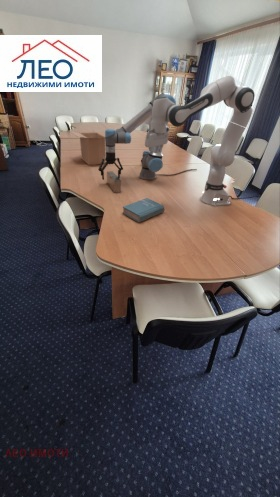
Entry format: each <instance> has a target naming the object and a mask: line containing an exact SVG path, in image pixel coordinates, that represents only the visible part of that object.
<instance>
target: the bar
mask: <svg viewBox="0 0 280 497" xmlns="http://www.w3.org/2000/svg"><path fill="white" fill-rule="evenodd" d="M106 184H107V185H108V186H109V187H110V189H111V190H112V192H113V193H116V194H117V193H121V192H122V180H121V178H120V179H119V178H118V174H116V173H115V172H114V171H112V170H111V171H110V170H109V171H106Z"/></svg>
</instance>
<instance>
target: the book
mask: <svg viewBox="0 0 280 497" xmlns="http://www.w3.org/2000/svg"><path fill="white" fill-rule="evenodd" d="M122 210H123V212H122V215H124V216H126V217H128V218H129V219H131V220H133V221H135V222H137V223H138V224H139V223H142V222H144V221H146V220H148V219H150V218H153V217H155V216H157V215H160V214H162V213H164V212H165V205H163V204H161V203H159V202H157V201H155V200H152V199H150V198H148V197H146V198H143V199H141V200H137V201H134V202H132V203H129V204H126V205H124V206H122Z"/></svg>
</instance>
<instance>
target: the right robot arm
mask: <svg viewBox="0 0 280 497" xmlns="http://www.w3.org/2000/svg"><path fill="white" fill-rule="evenodd" d="M156 97H157V96H156ZM222 101H223V103H224V105H225V106H227V107H229V108H231V109H233V113H232V115H231V117H230V120H229V122H228V124H227V126H226V128H225V129H224V131H223V134H222V139H221V143H219V144H215V145H214V146H213V147H212V148H211V149H210V162H209V171H208V176H207V179H206V181H205V185H204V189H203V191H202V195H201V197H200V202H202V203H204V204H207V205H210V206H213V207H218V206H219V207H220V206H230V205H231V201H230V198H231V200H243V199H245V200H246V199H251V198H254V197H256V198H259V195H253V196H248V197H246V196H245V197H238V198H235V197H232V195H230V194H228V192H227V191H226V190H225V189H227V185H226V184H224V179H225V176H226V167H227V168H228V167H229V166H231V165H232V164H233V163H234V161H235V155H236V151H237V148H238V144H239V142H240V140H241V138H242V136H243V134H244V132H245V130H246V129H247V127H248V124H249V122H250V121H251V118H252V114H253V108H252V107H253V103H254V101H255V91H254V90H253V89H252V88H251V87H249V86H244V85H237V84H236V80H235V78H234V76H231V75H227V76H224V77H223V76H222V77H221V78H218V79H216V80H213V81H212V82H210V83H208V84H207V85H206V86H204V87H203V88H202V89H201V91H200V94H199V97H197V98H196V99H194V100H193V101H191V102H189V103H187V104H185V105H179V104H177V103H176V104H175V103H173V102H171V101H170V100H169V99H168V98H167V97H157V98H156V99H155V100H154V102H153V108H152V116H151V121H150V129H148V131H147V132H146V135H145V140H144V146H145V147H146V148H148V151H150V154H153V151H152V149H153V147H154V146H159V145H160V147H159V149H158V152H161V153H162V152H163V148H164V145H167V144H168V141H169V132H170V129H171V128H170V127H169V126H168V125H167V126H166V122H168V123H170V124H171V125H172V126H173V127H177V128H178V127H182V126H183V125H185V123H186V122H187V121H188V120H190V118H192V117H193V116H195V115H197V114H198V113H200V112H202V111H204V110H206V109H208V108H211V107H212V106H215V105H217V104H219V103H221V102H222Z"/></svg>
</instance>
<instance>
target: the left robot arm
mask: <svg viewBox="0 0 280 497" xmlns="http://www.w3.org/2000/svg"><path fill="white" fill-rule="evenodd" d="M157 97H167V98H168V99H169V100H170V101H171V102H173V103H175V104H176V105H177V101H176V98H175V97H174V96H173V95H171V94H166V93H160V94H157V95H156V96H155V97H154V98H153V99H152V100H150V101H149V102H148V103H147V105H146V107H144V108H143V109H142V110H141V111H139V112H138V113H137V114H135V116H133V117H132V118H131V119H129V120H128V121H127V122H126V123H125V124H123V125H122V126H121V127H119V128H116V129H114V128H107V129H105V130H104V132H105V157H106V159H103V158H102V162H101V164H99V166H98V170H97V171H99V172H100V176H101V179H102V181H105V172H104V170H105V169H106V167H108V166H109V165H114V166H115V167H116V168H117V177H118V178H119V179H120V180H121V175H122V171H123V170H124V167H123V165H122V163H121V161H120V160H121V159H120V158H119V157H116V145H117V144H123V145H125V144H131V142H132V135H131V133H132V132H134V131H135V130H136V129H138V128H139V127H140V126H141V125H142V124H144V123H145V122H147V120H149V119H150V118H152V108H153V102H154V100H155V99H156V98H157ZM168 124H169V122H166V126H167V127H168ZM159 147H160V145H159V146H154V147H153V149H152V151H153V154H150V151H149V150H143V152H142V158H143V159H142V158H141V160H142V163H141V169H140V172H139V178H140V179H142V180H146V181H154V180H156V178H157V176H163V174H161V173H160V174H159V173H158V174H157V172H159V171H160V170H161V169H162V168H163V165H164V164H163V156H164V155H163V153H162V152H158V149H159ZM105 160H106V163H105V164H104V162H105ZM116 161H117V162H116ZM188 171H197V168H192V169H186V170H182V171H179V172H177V173H172V174H165V176H167V177H168V176H176V175H179V174H182V173H185V172H188Z"/></svg>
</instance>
